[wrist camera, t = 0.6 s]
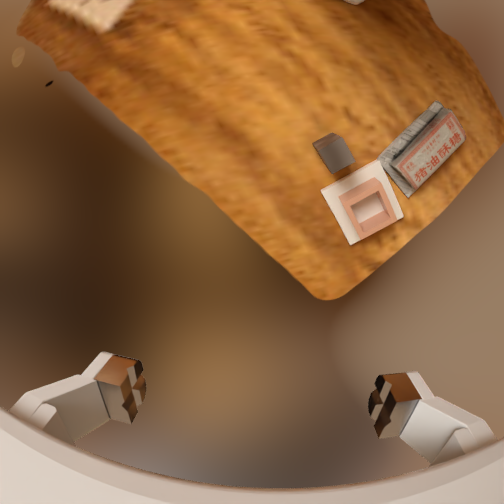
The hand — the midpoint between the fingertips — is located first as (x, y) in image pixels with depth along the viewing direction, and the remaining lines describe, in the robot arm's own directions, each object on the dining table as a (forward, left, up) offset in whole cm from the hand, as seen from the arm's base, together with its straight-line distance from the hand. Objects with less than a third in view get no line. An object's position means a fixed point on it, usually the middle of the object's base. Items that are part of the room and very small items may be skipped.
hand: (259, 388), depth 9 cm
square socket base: (-9, +15, -44) cm, 47 cm away
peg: (-8, +3, -44) cm, 45 cm away
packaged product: (-25, +11, -45) cm, 52 cm away
